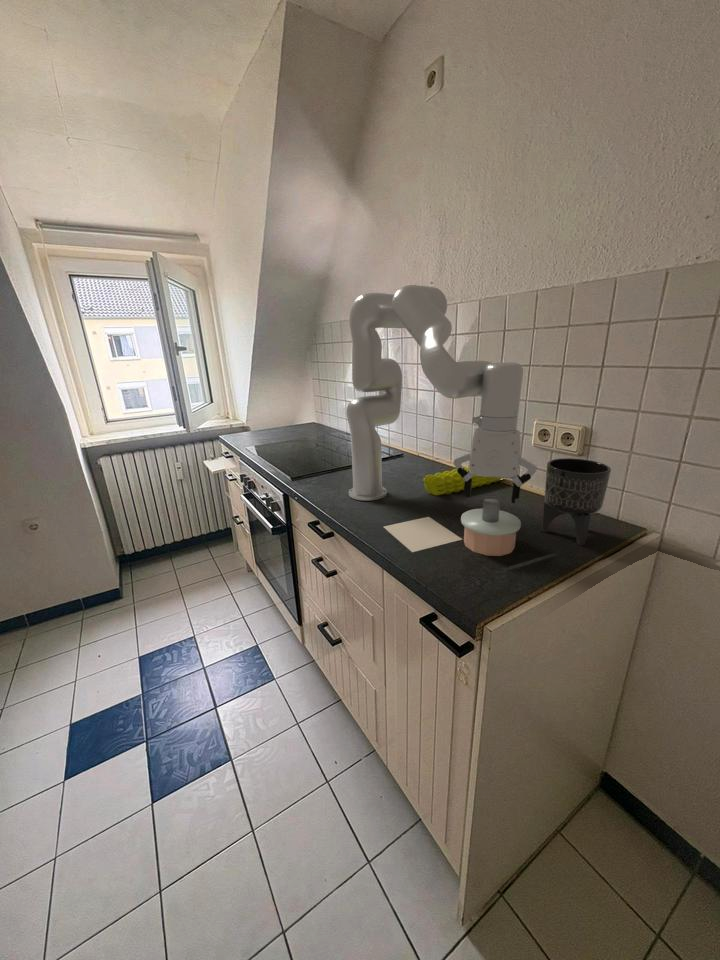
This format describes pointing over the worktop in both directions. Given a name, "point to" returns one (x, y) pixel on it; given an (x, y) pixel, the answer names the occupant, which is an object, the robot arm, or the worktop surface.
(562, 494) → the planter
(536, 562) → the worktop surface
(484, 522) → the lid
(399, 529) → the mat
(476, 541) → the bowl
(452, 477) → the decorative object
